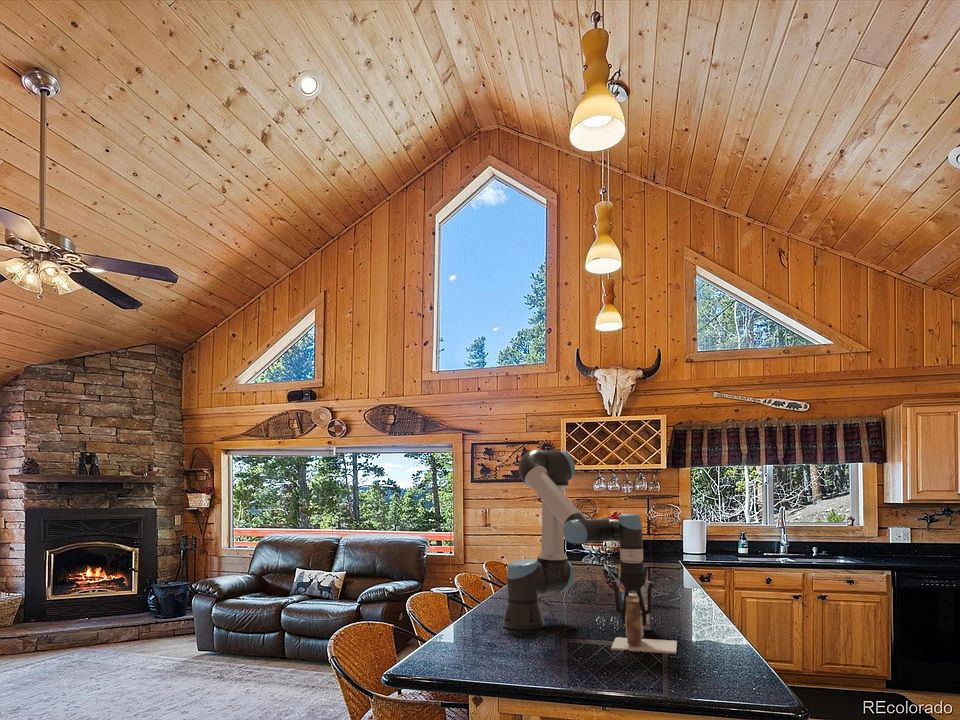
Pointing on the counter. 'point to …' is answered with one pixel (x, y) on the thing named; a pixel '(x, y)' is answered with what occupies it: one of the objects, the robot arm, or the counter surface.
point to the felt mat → (646, 645)
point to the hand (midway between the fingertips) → (634, 635)
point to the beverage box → (643, 591)
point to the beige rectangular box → (633, 619)
